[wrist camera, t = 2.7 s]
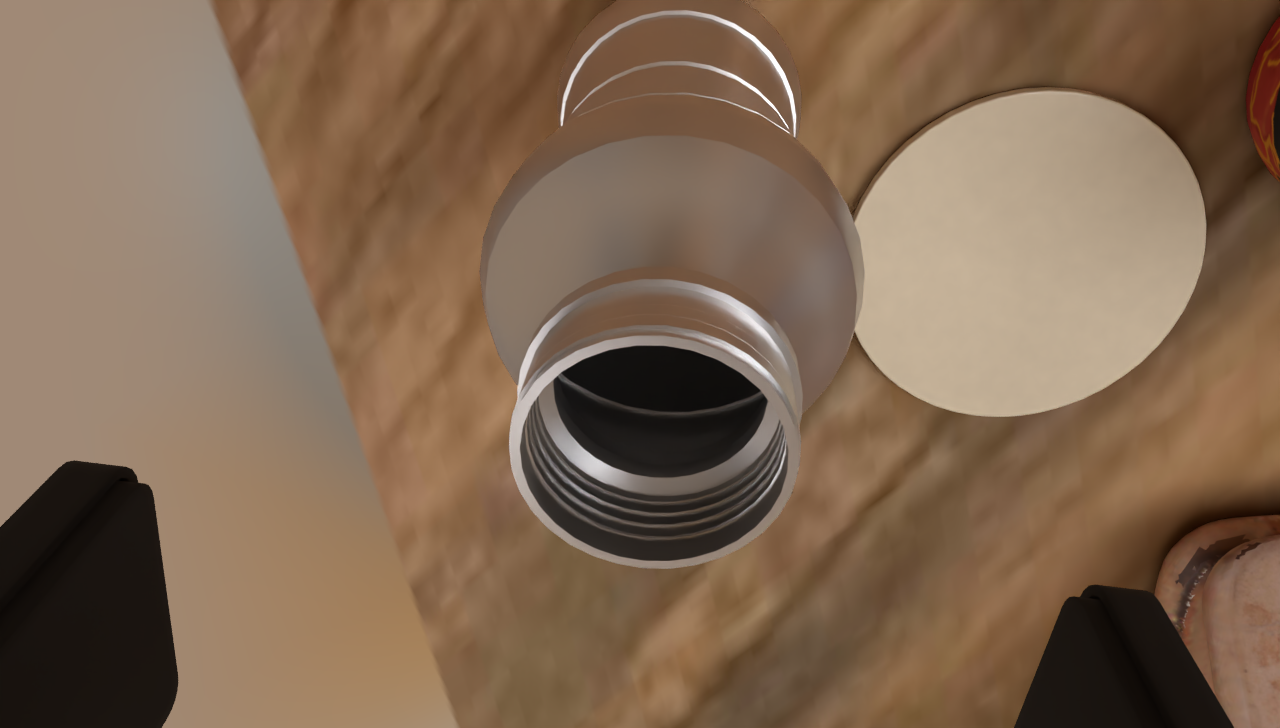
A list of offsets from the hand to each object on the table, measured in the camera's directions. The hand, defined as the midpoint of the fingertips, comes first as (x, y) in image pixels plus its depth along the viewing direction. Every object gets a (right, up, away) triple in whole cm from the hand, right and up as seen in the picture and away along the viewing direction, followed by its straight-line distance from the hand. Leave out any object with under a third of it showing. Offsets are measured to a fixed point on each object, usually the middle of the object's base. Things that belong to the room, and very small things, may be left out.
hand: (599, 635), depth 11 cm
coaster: (+12, +6, +22) cm, 26 cm away
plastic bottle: (+2, +11, +20) cm, 23 cm away
